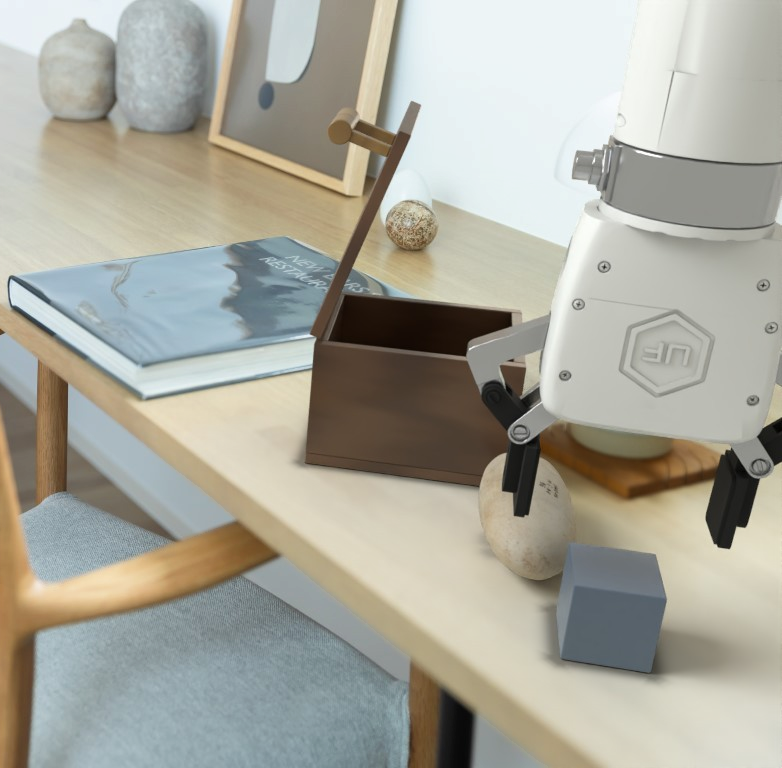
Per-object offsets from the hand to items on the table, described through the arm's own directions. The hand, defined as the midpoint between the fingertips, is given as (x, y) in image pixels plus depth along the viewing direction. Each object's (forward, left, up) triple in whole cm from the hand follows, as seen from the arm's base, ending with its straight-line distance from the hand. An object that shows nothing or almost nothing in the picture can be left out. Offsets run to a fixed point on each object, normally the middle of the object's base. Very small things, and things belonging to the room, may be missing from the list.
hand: (616, 519), depth 59 cm
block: (0, 0, -7) cm, 7 cm away
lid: (+15, -22, +9) cm, 28 cm away
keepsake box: (+11, -22, -7) cm, 26 cm away
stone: (+4, -9, -8) cm, 12 cm away
